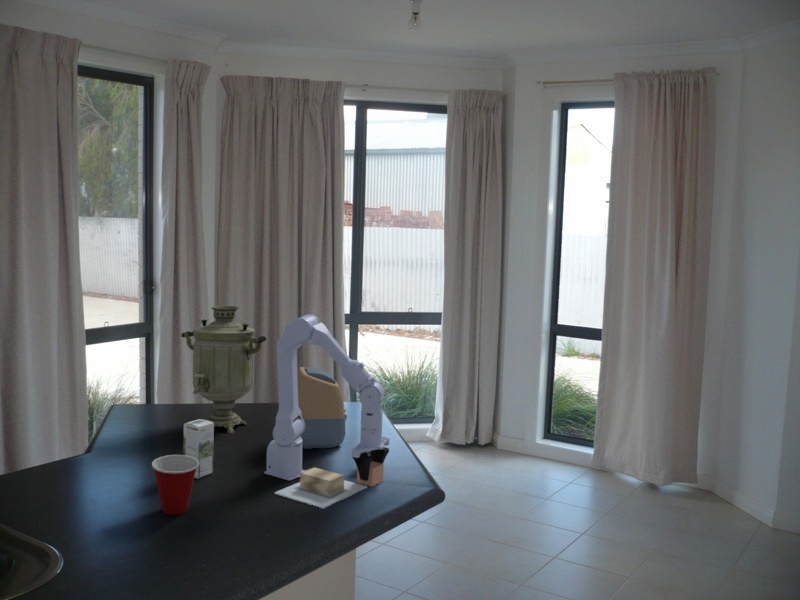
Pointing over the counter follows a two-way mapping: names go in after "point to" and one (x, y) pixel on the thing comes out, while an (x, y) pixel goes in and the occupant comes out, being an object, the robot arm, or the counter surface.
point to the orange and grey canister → (320, 409)
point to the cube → (373, 474)
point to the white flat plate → (317, 498)
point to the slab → (322, 481)
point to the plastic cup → (175, 481)
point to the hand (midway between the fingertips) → (370, 476)
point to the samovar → (223, 363)
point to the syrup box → (200, 445)
